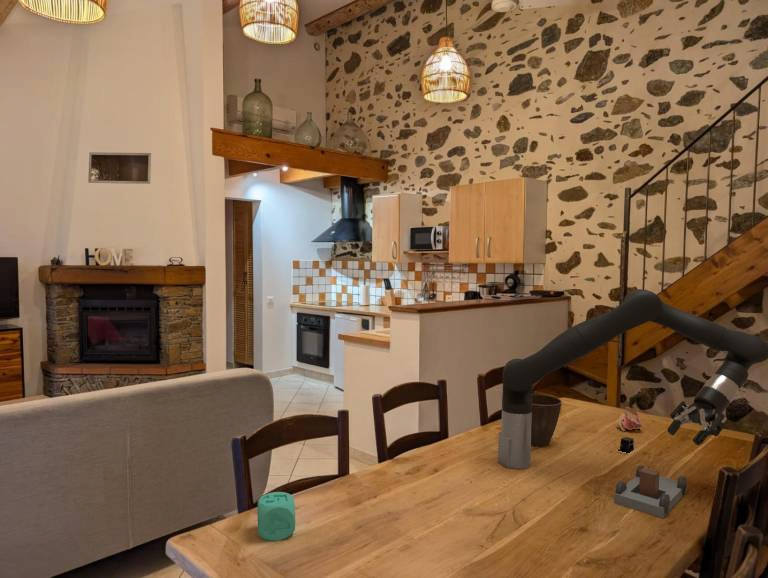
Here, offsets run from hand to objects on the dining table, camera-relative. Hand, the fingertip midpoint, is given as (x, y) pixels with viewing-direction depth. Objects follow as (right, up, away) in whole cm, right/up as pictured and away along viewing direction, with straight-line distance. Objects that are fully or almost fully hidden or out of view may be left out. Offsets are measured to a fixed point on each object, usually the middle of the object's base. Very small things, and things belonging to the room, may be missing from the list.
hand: (682, 438), depth 146 cm
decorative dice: (-107, -16, -22) cm, 111 cm away
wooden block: (-10, -16, -2) cm, 19 cm away
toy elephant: (+14, -14, +60) cm, 63 cm away
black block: (+2, -15, +38) cm, 41 cm away
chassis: (-8, -16, 0) cm, 18 cm away
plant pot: (-27, -14, +43) cm, 52 cm away
